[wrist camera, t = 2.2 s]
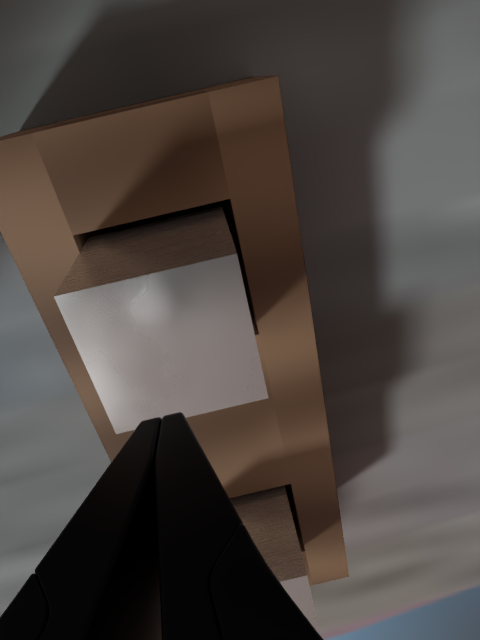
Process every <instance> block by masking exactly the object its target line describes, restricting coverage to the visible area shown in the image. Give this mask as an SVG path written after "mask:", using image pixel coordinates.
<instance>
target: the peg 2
mask: <svg viewBox="0 0 480 640" xmlns="http://www.w3.org/2000/svg"><path fill="white" fill-rule="evenodd" d="M230 500H231V502H232V504H233V506H234V507H235V509H236V511H237V513H238V515H239V516H240V518H241V520H242V522H243V525H244V526H245V527H246V529H247V531H248V532H249V534H250V536H251V538H252V540H253V542H254V543H255V545H256V547H257V548H258V550H259V552H260V553H261V555H262V557H263V558H264V560H265V562H266V563H267V565H268V566H269V568H270V569H271V571H272V572H273V574H274V575H275V576H276V578H277V579H278V581H279V582H280V583H281V585H282V586H283V588H284V589H285V590H286V592H287V593H288V594H289V596H290V597H291V598H292V600H293V601H294V602H295V604H296V605H297V606H298V607H299V609H300V610H301V611H302V613H303V614H304V615H305V617H306V618H307V619H308V620H309V622H310V623H311V624H312V626H313V627H314V628H315V630H316V631H317V632H318V633H319V635H320V632H319V627H318V622H317V618H316V613H315V609H314V604H313V600H312V595H311V590H310V586H309V581H308V577H307V573H306V569H305V565H304V561H303V557H302V553H301V549H300V545H299V541H298V537H297V533H296V529H295V525H294V521H293V517H292V513H291V509H290V506H289V502H288V498H287V494H286V490H285V486H284V485H283V486H279V487H275V488H271V489H266V490H262V491H258V492H254V493H250V494H245V495H241V496H237V497H233V498H230Z"/></svg>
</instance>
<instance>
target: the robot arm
mask: <svg viewBox="0 0 480 640" xmlns="http://www.w3.org/2000/svg"><path fill="white" fill-rule="evenodd" d="M35 573H36V574H32V575H31V576H30V577H29V578H28V580H27V581H26V583H25V584H24V585H23V587H22V588H21V590H20V591H19V592H18V594H17V595H16V597H15V598H14V599H13V601H12V602H11V603H10V605H9V606H8V607H7V609H6V610H5V611H4V613H3V614H2V615H1V617H0V640H323V639H322V637H321V636H320V635H319V633H318V632H317V631H316V630H315V628H314V627H313V626H312V624H311V623H310V622H309V620H308V619H307V618H306V617H305V615H304V614H303V613H302V611H301V610H300V609H299V607H298V606H297V605H296V604H295V602H294V601H293V600H292V598H291V597H290V596H289V594H288V593H287V592H286V590H285V589H284V588H283V586H282V585H281V583H280V582H279V581H278V579H277V578H276V576H275V575H274V574H273V572H272V571H271V569H270V568H269V566H268V565H267V563H266V562H265V560H264V558H263V557H262V555H261V553H260V552H259V550H258V548H257V547H256V545H255V543H254V542H253V540H252V538H251V536H250V534H249V532H248V531H247V529H246V527H245V526H244V525H243V522H242V520H241V518H240V516H239V515H238V513H237V511H236V509H235V507H234V506H233V504H232V502H231V500H230V498H229V496H228V495H227V493H226V491H225V489H224V487H223V485H222V484H221V482H220V480H219V478H218V476H217V474H216V473H215V471H214V469H213V467H212V465H211V464H210V462H209V460H208V458H207V456H206V454H205V453H204V451H203V449H202V447H201V445H200V443H199V442H198V440H197V438H196V436H195V434H194V432H193V431H192V429H191V427H190V425H189V423H188V422H187V420H186V418H185V416H184V414H183V413H182V412H178V413H173V414H169V415H165V416H163V417H162V418H160V417H156V418H152V419H148V420H144V421H141V422H140V423H139V425H138V426H137V427H136V429H135V430H134V432H133V433H132V434H131V436H130V437H129V439H128V440H127V441H126V443H125V444H124V446H123V447H122V448H121V450H120V451H119V453H118V454H117V455H116V457H115V458H114V460H113V461H112V462H111V464H110V465H109V467H108V468H107V469H106V471H105V472H104V474H103V475H102V476H101V478H100V479H99V481H98V482H97V483H96V485H95V486H94V488H93V489H92V490H91V492H90V493H89V495H88V496H87V497H86V499H85V500H84V502H83V503H82V504H81V506H80V507H79V509H78V510H77V511H76V513H75V514H74V516H73V517H72V518H71V520H70V521H69V523H68V524H67V525H66V527H65V528H64V530H63V531H62V532H61V534H60V535H59V537H58V538H57V539H56V541H55V542H54V544H53V545H52V546H51V548H50V549H49V551H48V552H47V553H46V555H45V556H44V558H43V559H42V560H41V562H40V563H39V565H38V566H37V567H36V569H35Z"/></svg>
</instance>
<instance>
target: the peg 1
mask: <svg viewBox="0 0 480 640" xmlns="http://www.w3.org/2000/svg"><path fill="white" fill-rule="evenodd" d="M54 298H55V301H56V303H57V305H58V307H59V309H60V312H61V314H62V316H63V318H64V320H65V323H66V325H67V327H68V329H69V331H70V334H71V336H72V338H73V340H74V342H75V345H76V347H77V349H78V351H79V353H80V356H81V358H82V360H83V362H84V364H85V367H86V369H87V371H88V373H89V375H90V378H91V380H92V382H93V384H94V386H95V389H96V391H97V393H98V395H99V397H100V400H101V402H102V404H103V406H104V408H105V411H106V413H107V415H108V417H109V420H110V422H111V424H112V426H113V428H114V431H115V433H116V434H119V433H123V432H127V431H132V430H135V429H136V427H137V426H138V425H139V423H140V422H141V421H144V420H148V419H152V418H156V417H160V418H162V417H163V416H165V415H169V414H173V413H178V412H182V413H183V414H184V416H185V418H187V417H191V416H195V415H199V414H204V413H208V412H212V411H216V410H221V409H225V408H229V407H233V406H237V405H242V404H246V403H250V402H254V401H259V400H263V399H267V398H268V393H267V389H266V384H265V380H264V375H263V371H262V366H261V361H260V357H259V352H258V348H257V343H256V338H255V334H254V329H253V325H252V320H251V316H250V311H249V306H248V302H247V297H246V293H245V288H244V283H243V279H242V274H241V270H240V265H239V261H238V256H237V252H236V249H235V246H234V243H233V240H232V236H231V233H230V230H229V227H228V224H227V221H226V218H225V215H224V211H223V208H222V206H221V207H216V208H212V209H208V210H204V211H199V212H195V213H191V214H186V215H182V216H178V217H174V218H169V219H165V220H161V221H157V222H152V223H148V224H144V225H139V226H135V227H131V228H127V229H122V230H118V231H114V232H110V233H105V234H101V235H97V236H92V237H89V238H88V239H87V241H86V243H85V244H84V246H83V248H82V249H81V251H80V253H79V255H78V256H77V258H76V260H75V261H74V263H73V265H72V266H71V268H70V270H69V272H68V273H67V275H66V277H65V278H64V280H63V282H62V283H61V285H60V287H59V288H58V290H57V292H56V294H55V295H54Z"/></svg>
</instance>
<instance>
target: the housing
mask: <svg viewBox="0 0 480 640" xmlns="http://www.w3.org/2000/svg"><path fill="white" fill-rule="evenodd" d="M223 200H225V201H226V206H227V210H228V215H229V219H230V224H231V229H232V233H233V238H234V242H235V247H236V252H237V256H238V261H239V265H240V270H241V274H242V279H243V283H244V288H245V293H246V297H247V302H248V306H249V311H250V316H251V320H252V325H253V329H254V334H255V338H256V343H257V348H258V352H259V357H260V361H261V366H262V371H263V375H264V380H265V384H266V389H267V393H268V398H267V399H263V400H259V401H254V402H250V403H246V404H242V405H237V406H233V407H229V408H225V409H221V410H216V411H212V412H208V413H204V414H199V415H195V416H191V417H187V418H186V420H187V422H188V423H189V425H190V427H191V429H192V431H193V432H194V434H195V436H196V438H197V440H198V442H199V443H200V445H201V447H202V449H203V451H204V453H205V454H206V456H207V458H208V460H209V462H210V464H211V465H212V467H213V469H214V471H215V473H216V474H217V476H218V478H219V480H220V482H221V484H222V485H223V487H224V489H225V491H226V493H227V495H228V496H229V498H233V497H237V496H241V495H245V494H250V493H254V492H258V491H262V490H266V489H271V488H275V487H279V486H283V485H284V486H285V490H286V494H287V498H288V502H289V506H290V509H291V513H292V517H293V521H294V525H295V529H296V533H297V537H298V541H299V545H300V549H301V553H302V557H303V561H304V565H305V569H306V573H307V577H308V581H309V586H311V585H315V584H319V583H323V582H327V581H332V580H336V579H340V578H344V577H348V576H349V574H348V567H347V559H346V552H345V545H344V538H343V531H342V524H341V517H340V510H339V503H338V496H337V489H336V482H335V474H334V467H333V460H332V453H331V446H330V439H329V432H328V425H327V418H326V411H325V404H324V397H323V390H322V382H321V375H320V368H319V361H318V354H317V347H316V340H315V333H314V326H313V319H312V312H311V305H310V298H309V290H308V283H307V276H306V269H305V262H304V255H303V248H302V241H301V234H300V227H299V220H298V213H297V206H296V198H295V191H294V184H293V177H292V170H291V163H290V156H289V149H288V142H287V135H286V128H285V121H284V114H283V106H282V99H281V92H280V85H279V78H278V76H260V77H250V78H246V79H241V80H237V81H233V82H228V83H224V84H220V85H216V86H211V87H207V88H203V89H198V90H194V91H190V92H186V93H181V94H177V95H173V96H168V97H164V98H160V99H155V100H151V101H147V102H143V103H138V104H134V105H130V106H125V107H121V108H117V109H113V110H108V111H104V112H100V113H95V114H91V115H87V116H82V117H78V118H74V119H70V120H65V121H61V122H57V123H52V124H48V125H44V126H40V127H35V128H31V129H27V130H22V131H18V132H15V133H12V134H9V135H6V136H2V137H0V232H1V234H2V236H3V238H4V240H5V242H6V244H7V246H8V248H9V250H10V253H11V255H12V257H13V259H14V261H15V263H16V265H17V267H18V269H19V271H20V273H21V275H22V277H23V280H24V282H25V284H26V286H27V288H28V290H29V292H30V294H31V296H32V298H33V300H34V302H35V305H36V307H37V309H38V311H39V313H40V315H41V317H42V319H43V321H44V323H45V325H46V327H47V329H48V332H49V334H50V336H51V338H52V340H53V342H54V344H55V346H56V348H57V350H58V352H59V354H60V357H61V359H62V361H63V363H64V365H65V367H66V369H67V371H68V373H69V375H70V377H71V379H72V381H73V384H74V386H75V388H76V390H77V392H78V394H79V396H80V398H81V400H82V402H83V404H84V406H85V409H86V411H87V413H88V415H89V417H90V419H91V421H92V423H93V425H94V427H95V429H96V431H97V433H98V436H99V438H100V440H101V442H102V444H103V446H104V448H105V450H106V452H107V454H108V456H109V458H110V461H111V462H112V461H113V460H114V458H115V457H116V455H117V454H118V453H119V451H120V450H121V448H122V447H123V446H124V444H125V443H126V441H127V440H128V439H129V437H130V436H131V434H132V433H133V432H134V430H132V431H127V432H123V433H119V434H116V433H115V431H114V428H113V426H112V424H111V422H110V420H109V417H108V415H107V413H106V411H105V408H104V406H103V404H102V402H101V400H100V397H99V395H98V393H97V391H96V389H95V386H94V384H93V382H92V380H91V378H90V375H89V373H88V371H87V369H86V367H85V364H84V362H83V360H82V358H81V356H80V353H79V351H78V349H77V347H76V345H75V342H74V340H73V338H72V336H71V334H70V331H69V329H68V327H67V325H66V323H65V320H64V318H63V316H62V314H61V312H60V309H59V307H58V305H57V303H56V301H55V298H54V295H55V294H56V292H57V290H58V288H59V287H60V285H61V283H62V282H63V280H64V278H65V277H66V275H67V273H68V272H69V270H70V268H71V266H72V265H73V263H74V261H75V260H76V258H77V256H78V255H79V253H80V251H81V249H82V248H83V246H84V244H85V243H86V241H87V239H88V238H89V237H92V236H97V235H101V234H105V233H110V232H111V231H110V228H109V227H112V226H116V225H120V224H124V223H129V222H133V221H137V220H142V219H146V218H150V217H154V216H159V215H163V214H167V213H171V212H176V211H180V210H184V209H189V208H193V207H197V206H201V205H206V204H210V203H214V202H218V201H223Z"/></svg>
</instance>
